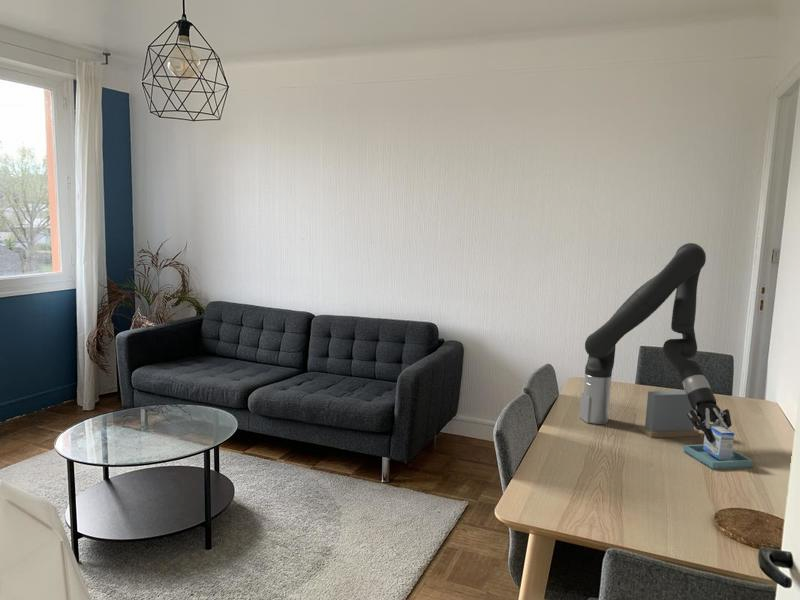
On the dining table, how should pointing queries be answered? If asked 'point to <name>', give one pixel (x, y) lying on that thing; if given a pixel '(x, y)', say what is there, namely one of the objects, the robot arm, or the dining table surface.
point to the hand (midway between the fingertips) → (720, 441)
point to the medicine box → (720, 443)
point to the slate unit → (668, 415)
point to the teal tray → (714, 463)
